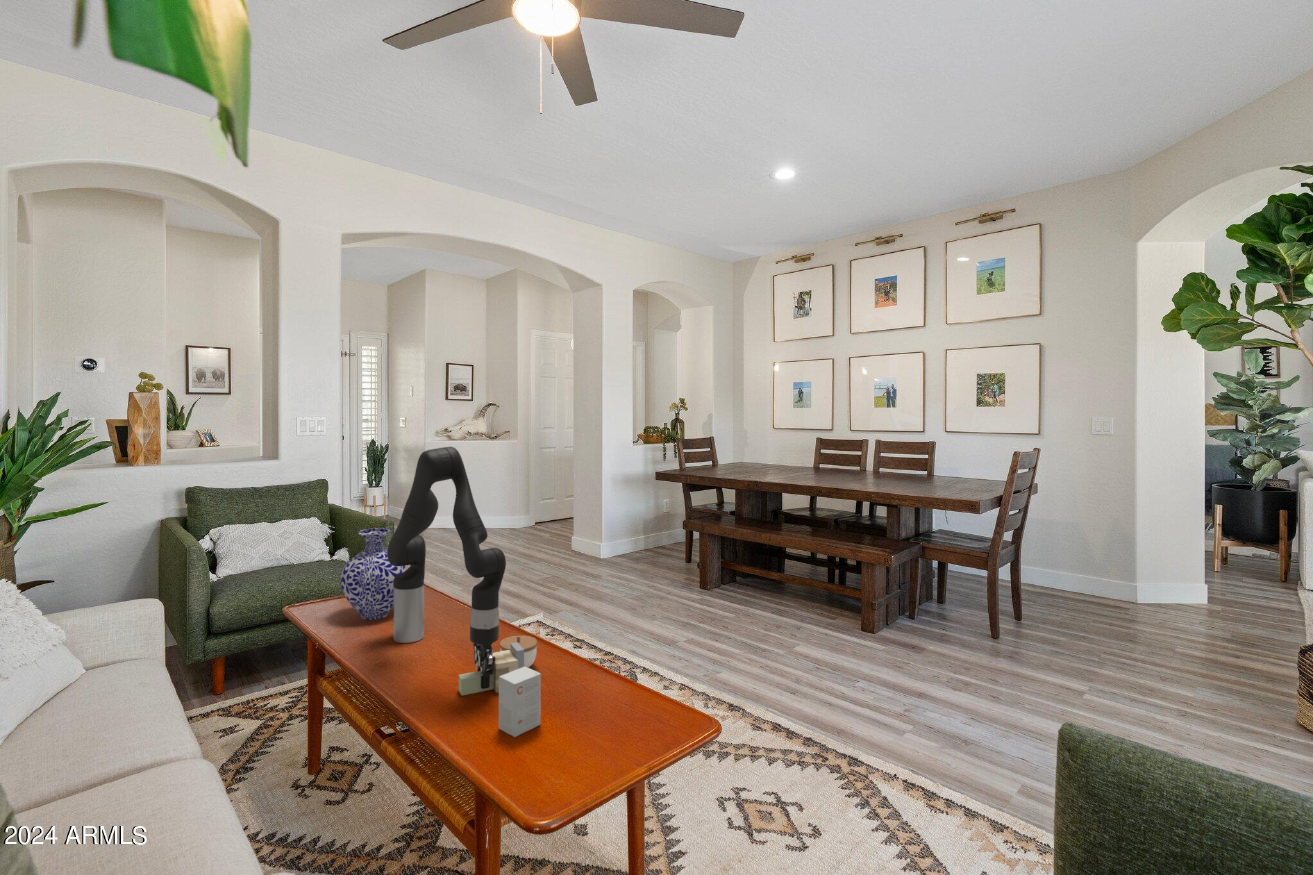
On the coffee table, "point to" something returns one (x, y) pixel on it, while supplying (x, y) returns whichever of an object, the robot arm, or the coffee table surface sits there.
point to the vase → (370, 577)
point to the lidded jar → (526, 643)
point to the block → (503, 665)
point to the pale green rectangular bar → (473, 683)
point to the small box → (519, 701)
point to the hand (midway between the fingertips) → (483, 684)
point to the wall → (518, 653)
